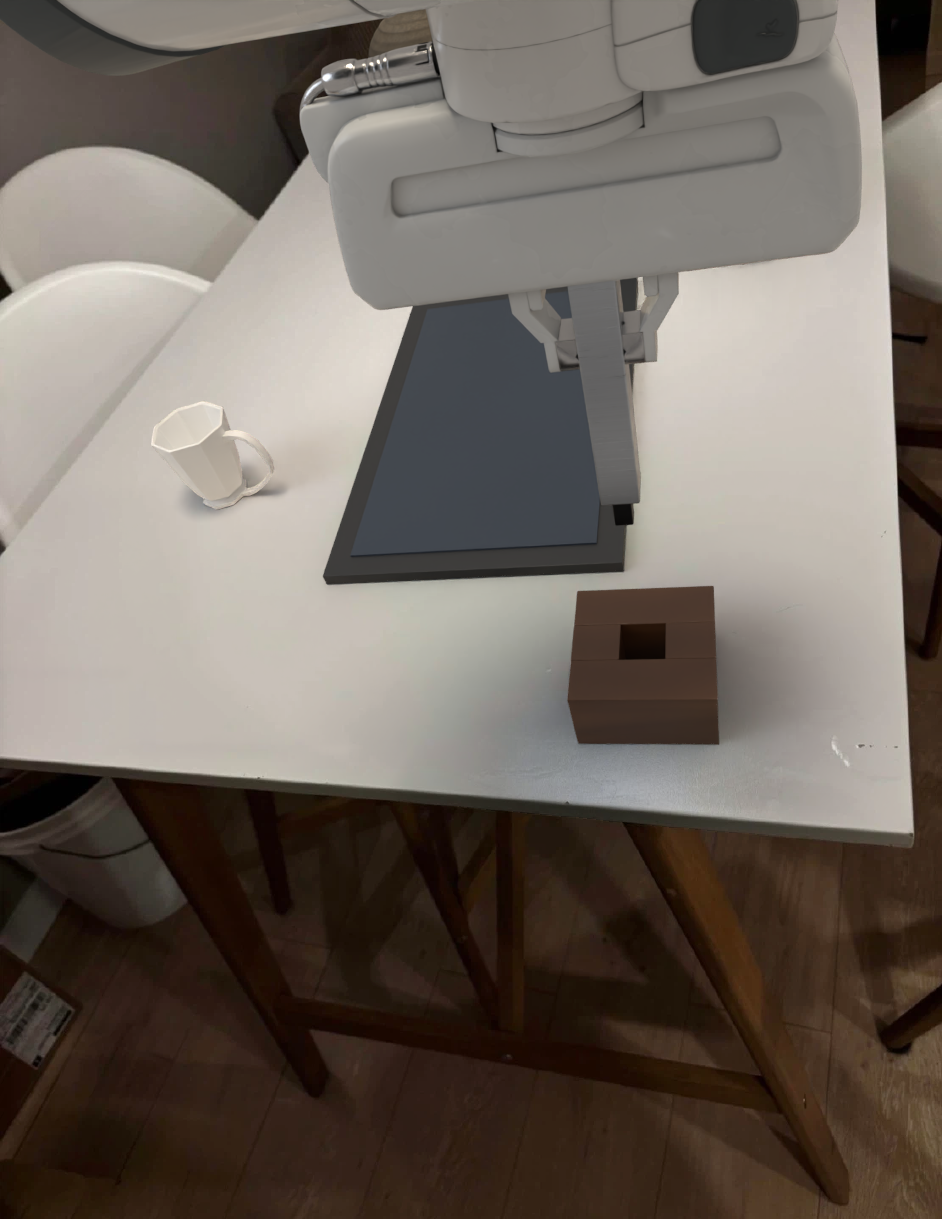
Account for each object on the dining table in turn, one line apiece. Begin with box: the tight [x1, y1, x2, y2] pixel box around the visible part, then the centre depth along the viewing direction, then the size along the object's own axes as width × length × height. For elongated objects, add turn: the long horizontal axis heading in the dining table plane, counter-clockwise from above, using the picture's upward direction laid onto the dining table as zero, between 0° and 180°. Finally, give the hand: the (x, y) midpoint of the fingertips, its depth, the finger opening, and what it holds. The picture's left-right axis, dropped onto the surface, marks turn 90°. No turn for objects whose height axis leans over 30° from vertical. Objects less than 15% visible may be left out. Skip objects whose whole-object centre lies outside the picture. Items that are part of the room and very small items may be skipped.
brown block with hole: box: [566, 585, 720, 746], centre depth 57 cm, size 9×9×5 cm
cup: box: [150, 400, 275, 511], centre depth 80 cm, size 7×10×8 cm
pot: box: [368, 9, 433, 58], centre depth 119 cm, size 18×18×20 cm
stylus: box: [567, 280, 642, 526], centre depth 42 cm, size 2×2×15 cm
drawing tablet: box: [322, 277, 639, 585], centre depth 81 cm, size 40×24×1 cm, turn 172°
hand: (604, 360), depth 40 cm, fingers closed on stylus, 2 cm apart
